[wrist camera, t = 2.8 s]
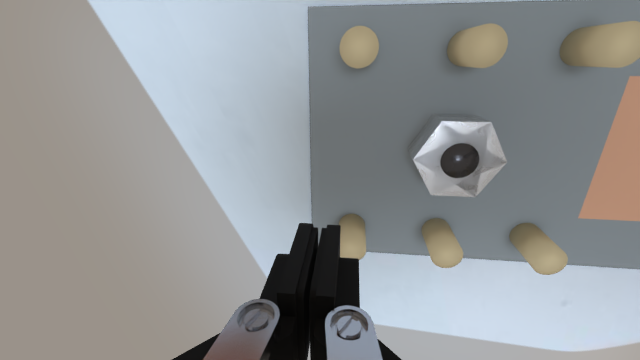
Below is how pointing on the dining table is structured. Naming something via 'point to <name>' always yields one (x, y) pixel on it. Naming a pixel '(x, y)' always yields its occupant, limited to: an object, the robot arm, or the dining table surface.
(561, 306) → the dining table surface
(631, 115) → the spacer board
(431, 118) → the hex nut
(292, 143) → the dining table surface
